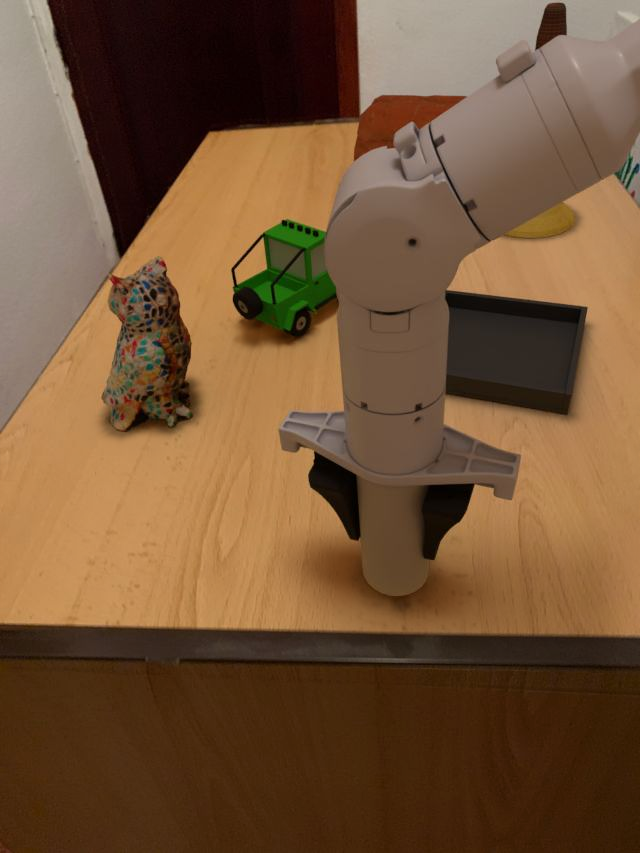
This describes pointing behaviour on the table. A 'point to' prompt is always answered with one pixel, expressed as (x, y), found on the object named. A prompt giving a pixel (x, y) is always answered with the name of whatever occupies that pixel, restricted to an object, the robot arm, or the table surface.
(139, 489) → the table surface
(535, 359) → the tray
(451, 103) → the bread
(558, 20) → the handbell
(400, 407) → the robot arm
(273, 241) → the toy car
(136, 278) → the figurine
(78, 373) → the table surface
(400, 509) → the beverage can
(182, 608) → the table surface
